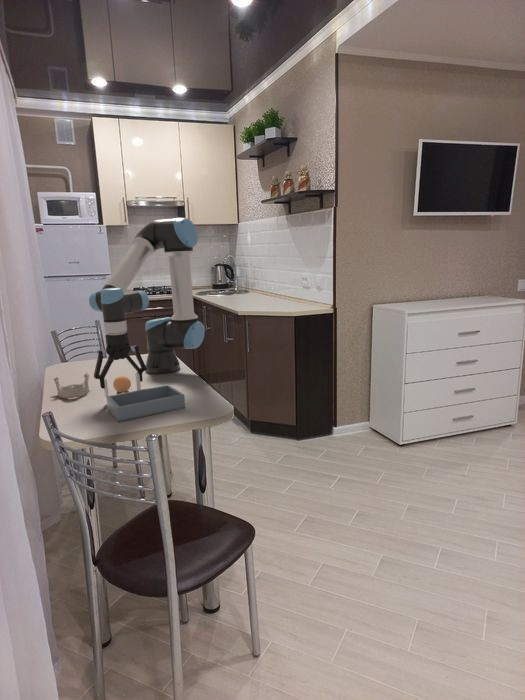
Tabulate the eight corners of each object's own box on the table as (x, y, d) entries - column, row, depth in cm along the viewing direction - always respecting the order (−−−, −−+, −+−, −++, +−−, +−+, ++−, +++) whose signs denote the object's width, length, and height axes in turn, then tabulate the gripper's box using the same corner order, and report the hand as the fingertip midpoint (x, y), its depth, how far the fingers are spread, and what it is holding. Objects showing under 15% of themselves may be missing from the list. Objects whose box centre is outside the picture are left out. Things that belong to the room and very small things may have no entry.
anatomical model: (54, 400, 165) (51, 373, 166) (56, 403, 174) (53, 378, 176) (92, 394, 169) (88, 368, 171) (92, 398, 179) (88, 373, 181)
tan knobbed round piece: (121, 398, 167) (120, 389, 166) (132, 398, 166) (131, 389, 165) (115, 402, 163) (114, 392, 162) (126, 402, 161) (125, 393, 161)
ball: (129, 388, 167) (127, 372, 166) (133, 392, 162) (131, 376, 161) (112, 391, 165) (110, 375, 163) (116, 395, 159) (114, 379, 158)
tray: (170, 396, 166) (168, 384, 165) (185, 407, 153) (184, 394, 152) (108, 409, 155) (106, 396, 154) (118, 422, 143) (117, 408, 142)
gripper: (146, 327, 168) (151, 385, 172) (79, 335, 156) (87, 397, 161) (152, 330, 161) (157, 390, 166) (83, 338, 150) (91, 402, 155)
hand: (123, 393), depth 164 cm, fingers open, 11 cm apart
